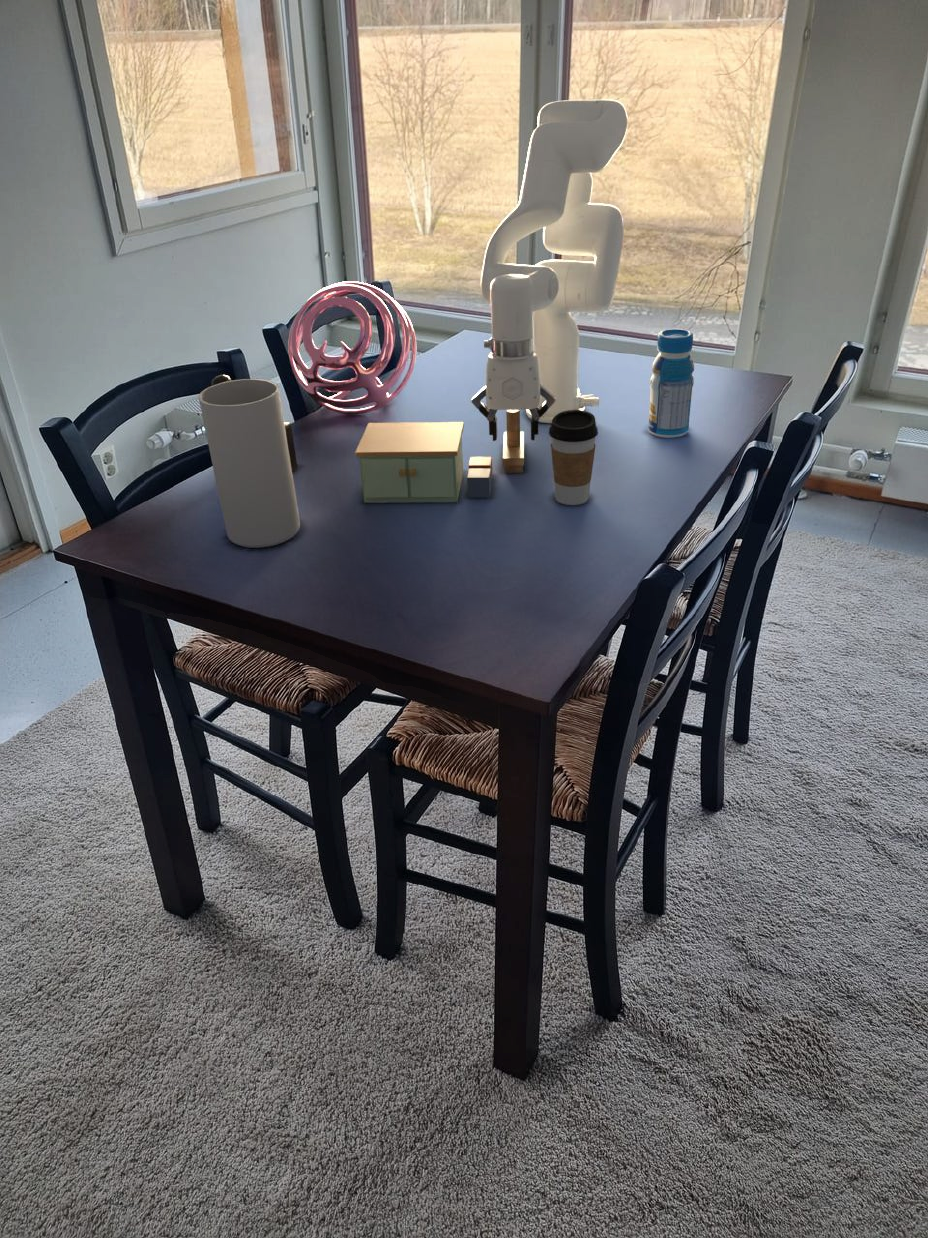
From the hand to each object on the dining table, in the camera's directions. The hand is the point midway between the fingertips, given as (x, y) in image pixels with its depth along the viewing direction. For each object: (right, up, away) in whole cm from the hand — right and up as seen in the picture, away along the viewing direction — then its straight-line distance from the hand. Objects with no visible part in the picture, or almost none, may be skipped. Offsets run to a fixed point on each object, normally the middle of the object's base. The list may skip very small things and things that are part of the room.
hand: (513, 437), depth 181 cm
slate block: (-9, -10, -11) cm, 18 cm away
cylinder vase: (-44, -20, -19) cm, 52 cm away
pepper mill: (-51, -7, +2) cm, 52 cm away
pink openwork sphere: (-34, +12, +30) cm, 47 cm away
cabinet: (-19, -11, -7) cm, 23 cm away
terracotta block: (-9, -8, -7) cm, 13 cm away
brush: (0, -4, +2) cm, 4 cm away
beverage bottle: (+32, +3, +10) cm, 34 cm away
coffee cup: (+10, -14, -14) cm, 22 cm away
